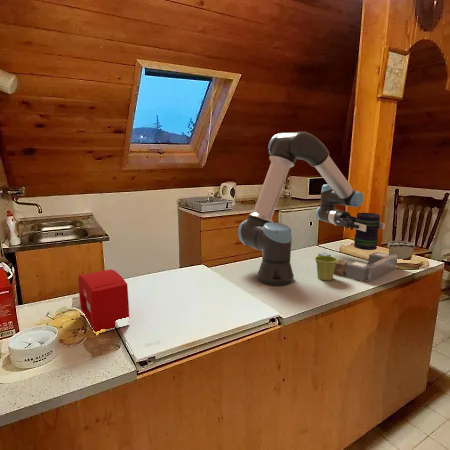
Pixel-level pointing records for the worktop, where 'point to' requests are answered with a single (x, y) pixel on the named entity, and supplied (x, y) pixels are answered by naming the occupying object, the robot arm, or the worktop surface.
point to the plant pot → (325, 267)
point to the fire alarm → (103, 298)
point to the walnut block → (340, 267)
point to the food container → (401, 249)
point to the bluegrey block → (324, 254)
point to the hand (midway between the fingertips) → (374, 227)
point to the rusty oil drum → (367, 231)
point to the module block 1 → (356, 270)
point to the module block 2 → (376, 257)
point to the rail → (381, 267)
